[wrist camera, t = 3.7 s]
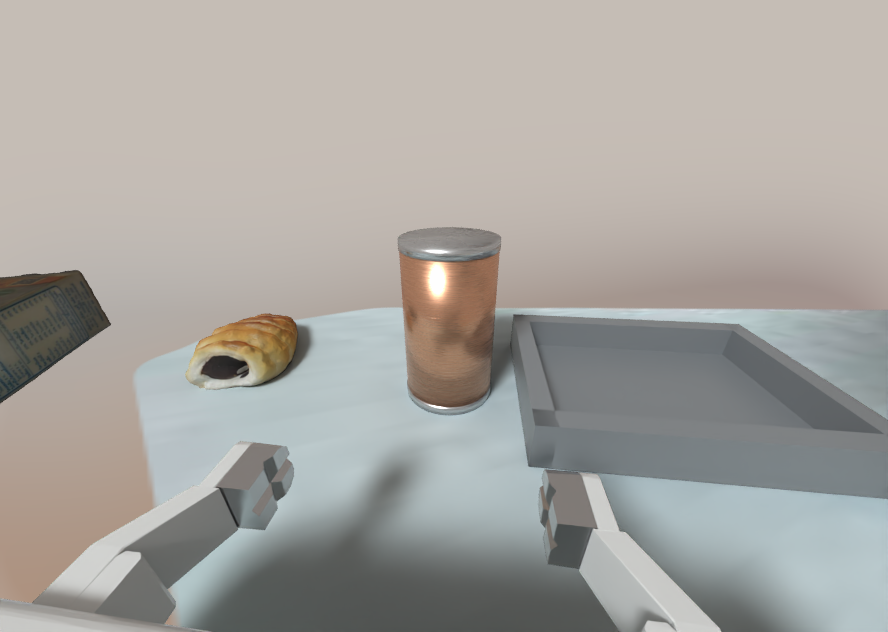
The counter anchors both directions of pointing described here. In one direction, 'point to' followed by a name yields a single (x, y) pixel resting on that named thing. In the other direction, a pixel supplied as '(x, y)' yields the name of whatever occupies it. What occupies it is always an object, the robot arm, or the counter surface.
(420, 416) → the counter surface
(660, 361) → the tray
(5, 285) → the beverage carton
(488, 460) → the counter surface
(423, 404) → the tin can
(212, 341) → the pastry
